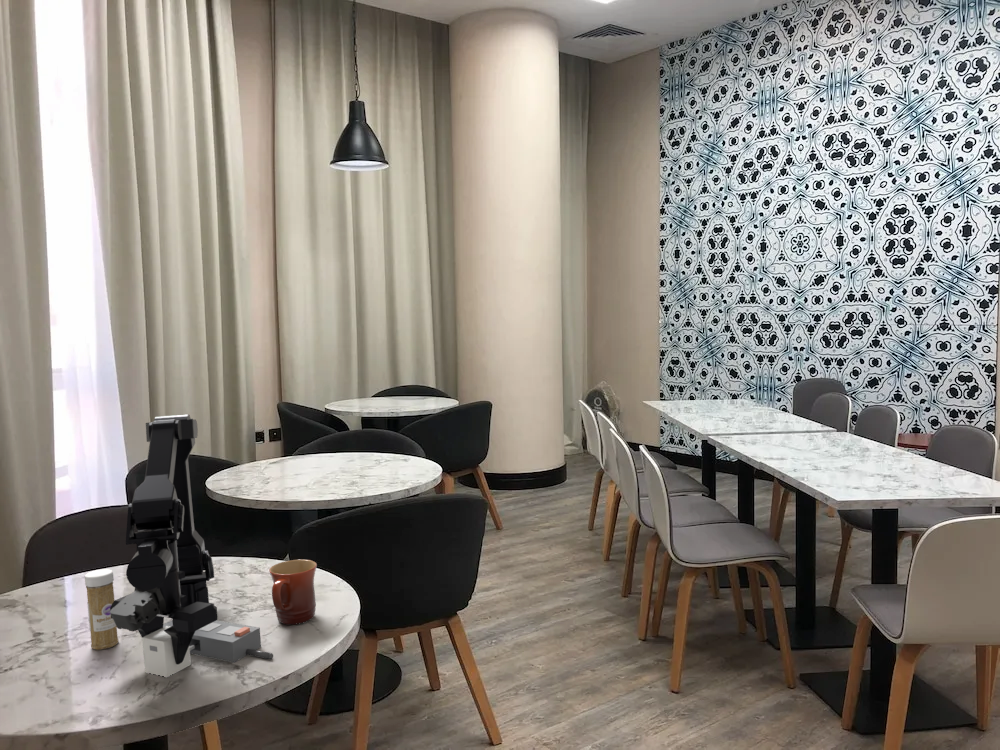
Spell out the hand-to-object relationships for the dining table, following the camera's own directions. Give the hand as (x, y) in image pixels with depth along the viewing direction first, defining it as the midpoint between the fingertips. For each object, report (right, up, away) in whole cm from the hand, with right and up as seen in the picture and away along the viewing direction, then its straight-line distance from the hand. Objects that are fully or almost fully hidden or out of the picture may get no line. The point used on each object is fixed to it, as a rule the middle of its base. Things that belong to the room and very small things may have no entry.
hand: (167, 660), depth 132 cm
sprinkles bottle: (-16, -1, +11) cm, 19 cm away
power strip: (+6, -1, +7) cm, 9 cm away
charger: (+1, -1, +1) cm, 2 cm away
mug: (+16, +1, +18) cm, 24 cm away
